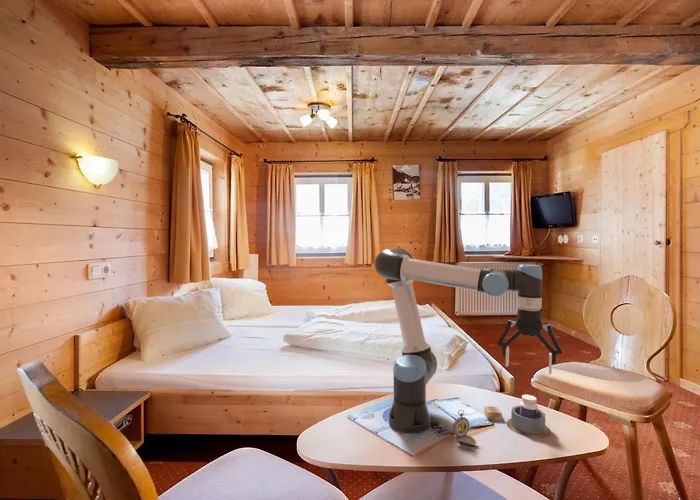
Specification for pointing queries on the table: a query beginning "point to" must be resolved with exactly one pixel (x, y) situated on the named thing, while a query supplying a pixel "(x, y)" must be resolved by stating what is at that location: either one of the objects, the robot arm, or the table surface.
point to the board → (545, 434)
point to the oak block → (492, 413)
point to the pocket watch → (462, 430)
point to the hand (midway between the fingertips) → (528, 369)
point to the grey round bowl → (528, 422)
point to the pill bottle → (529, 406)
